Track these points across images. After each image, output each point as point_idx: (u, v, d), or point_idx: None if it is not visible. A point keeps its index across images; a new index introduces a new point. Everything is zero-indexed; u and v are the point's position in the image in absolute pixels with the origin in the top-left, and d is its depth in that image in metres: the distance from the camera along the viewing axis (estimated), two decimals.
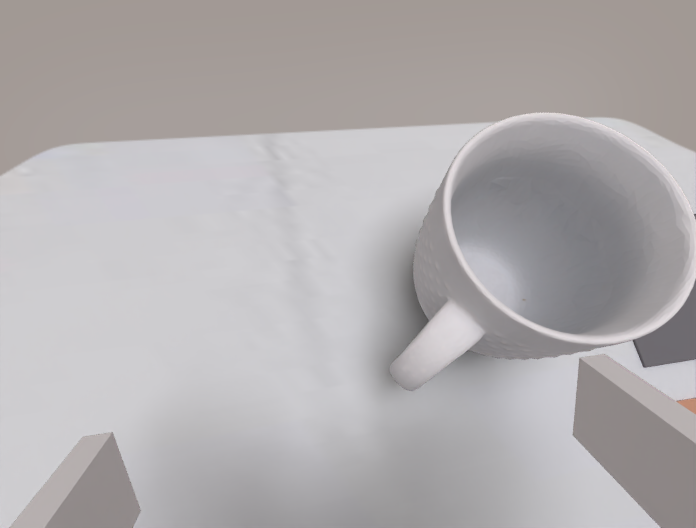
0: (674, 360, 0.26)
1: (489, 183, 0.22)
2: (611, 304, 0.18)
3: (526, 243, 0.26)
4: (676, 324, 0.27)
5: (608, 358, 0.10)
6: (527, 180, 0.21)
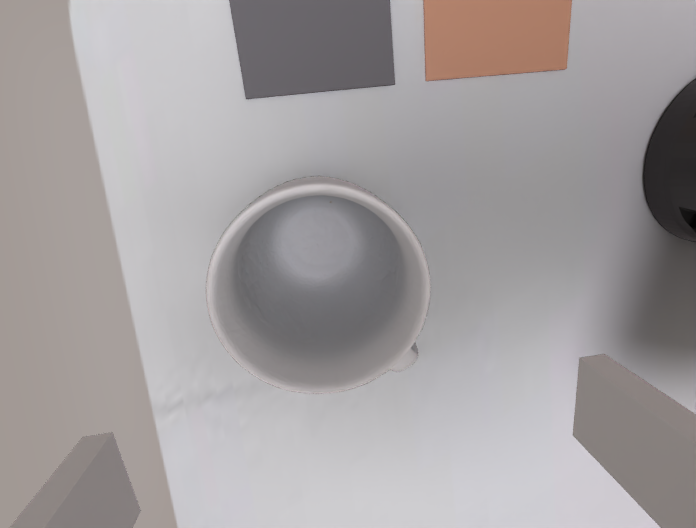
0: (390, 50, 0.26)
1: (241, 278, 0.22)
2: None
3: (280, 204, 0.26)
4: (355, 32, 0.26)
5: (608, 358, 0.10)
6: (240, 248, 0.21)
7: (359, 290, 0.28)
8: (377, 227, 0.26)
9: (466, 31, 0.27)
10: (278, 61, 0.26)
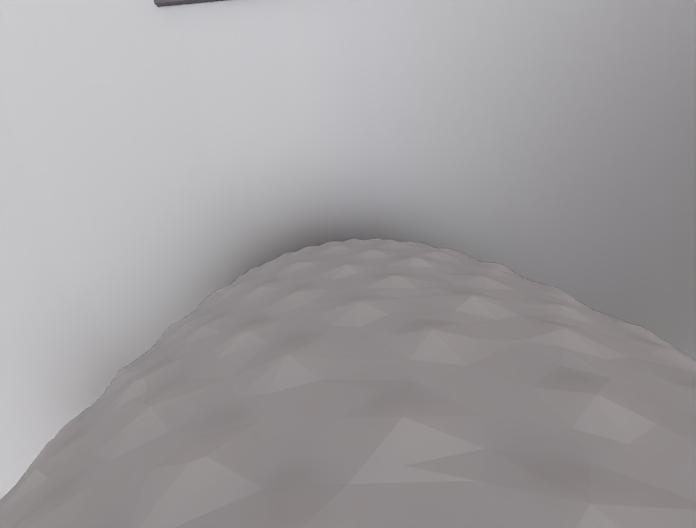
0: None
1: None
2: None
3: None
4: None
5: None
6: None
7: None
8: None
9: None
10: None
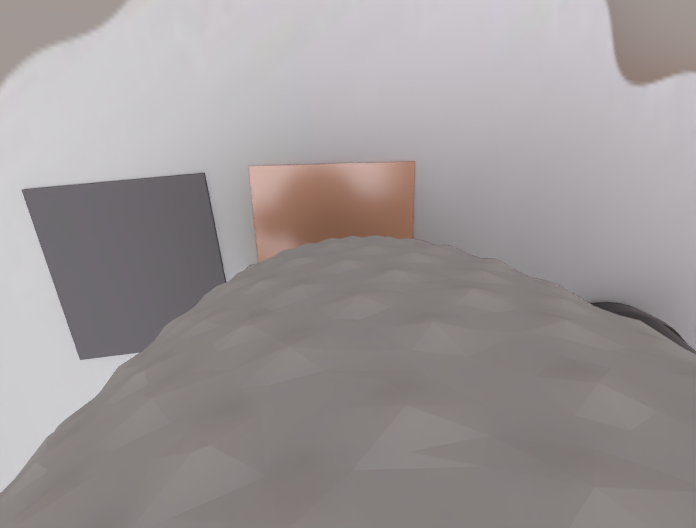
0: None
1: None
2: None
3: None
4: (190, 299, 0.26)
5: None
6: None
7: None
8: None
9: None
10: (111, 327, 0.26)
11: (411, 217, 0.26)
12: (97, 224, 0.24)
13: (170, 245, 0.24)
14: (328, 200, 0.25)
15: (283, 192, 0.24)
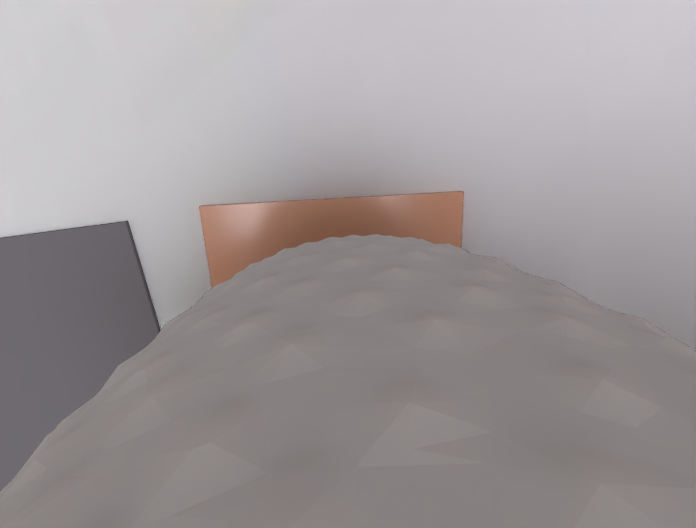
0: None
1: None
2: None
3: None
4: None
5: None
6: None
7: None
8: None
9: None
10: (3, 455, 0.17)
11: None
12: None
13: (82, 333, 0.16)
14: None
15: (257, 245, 0.15)
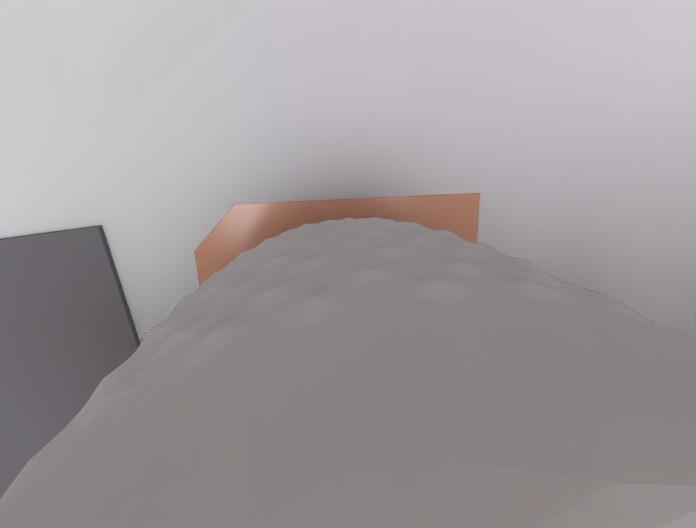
0: None
1: None
2: None
3: None
4: None
5: None
6: None
7: None
8: None
9: None
10: None
11: None
12: None
13: (52, 350, 0.14)
14: None
15: None
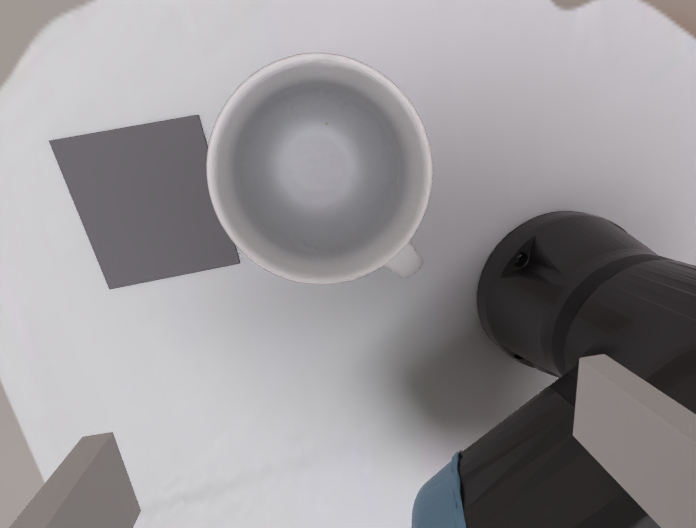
0: None
1: (241, 187, 0.22)
2: (372, 105, 0.20)
3: (276, 122, 0.25)
4: (197, 229, 0.30)
5: (608, 358, 0.10)
6: (238, 152, 0.21)
7: (359, 211, 0.28)
8: (375, 141, 0.26)
9: None
10: (132, 258, 0.30)
11: None
12: (113, 167, 0.28)
13: (175, 180, 0.29)
14: None
15: None
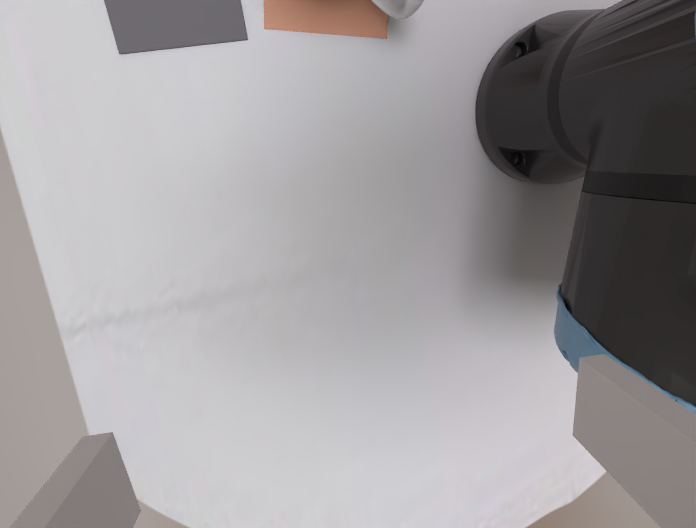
0: (240, 9, 0.31)
1: None
2: None
3: None
4: None
5: (608, 358, 0.10)
6: None
7: None
8: None
9: None
10: (143, 20, 0.31)
11: None
12: None
13: None
14: None
15: None
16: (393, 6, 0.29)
